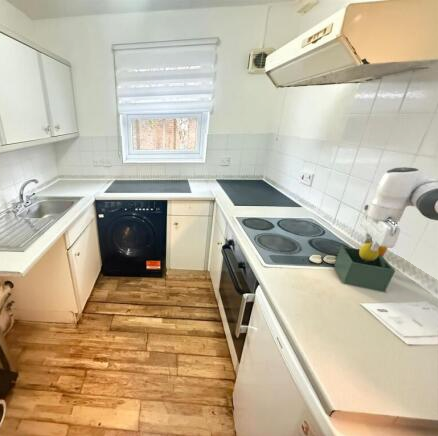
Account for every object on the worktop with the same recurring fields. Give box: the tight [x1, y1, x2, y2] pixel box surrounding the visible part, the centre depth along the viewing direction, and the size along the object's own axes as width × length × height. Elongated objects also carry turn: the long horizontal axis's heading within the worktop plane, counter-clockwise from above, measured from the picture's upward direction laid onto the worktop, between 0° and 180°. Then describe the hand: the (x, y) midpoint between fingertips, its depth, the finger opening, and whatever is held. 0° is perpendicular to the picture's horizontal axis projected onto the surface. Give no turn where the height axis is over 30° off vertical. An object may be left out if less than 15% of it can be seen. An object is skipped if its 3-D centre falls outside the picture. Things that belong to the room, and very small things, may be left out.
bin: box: [333, 246, 396, 293], centre depth 94 cm, size 13×14×10 cm
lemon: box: [359, 242, 379, 262], centre depth 91 cm, size 6×6×8 cm
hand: (370, 246), depth 90 cm, fingers closed on lemon, 4 cm apart
